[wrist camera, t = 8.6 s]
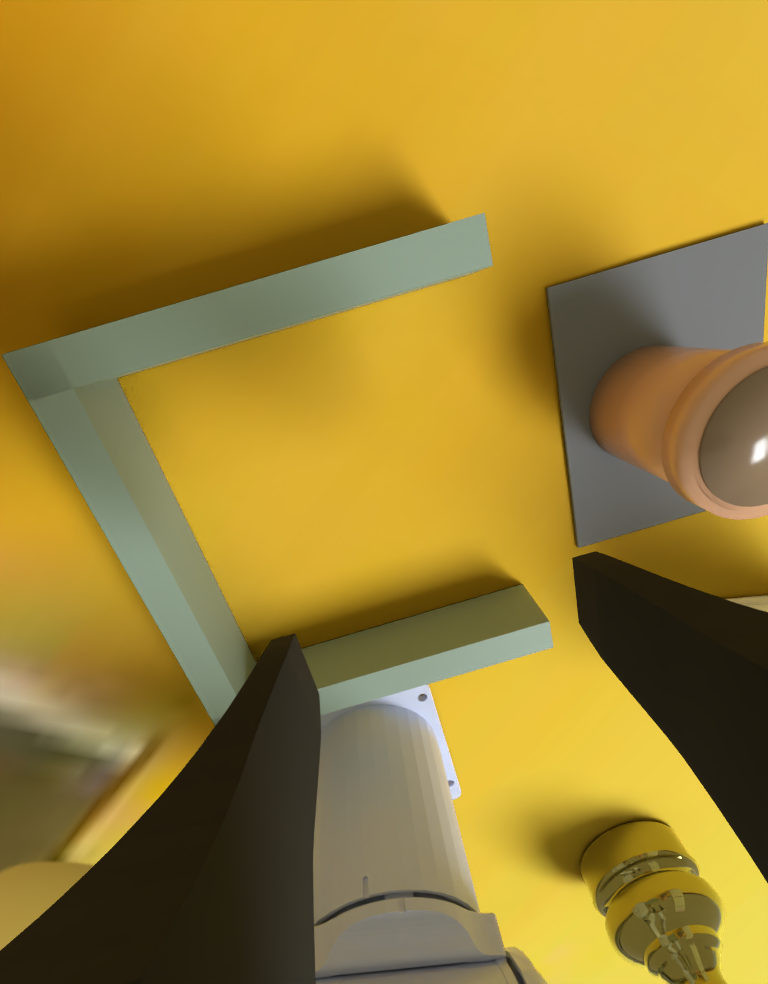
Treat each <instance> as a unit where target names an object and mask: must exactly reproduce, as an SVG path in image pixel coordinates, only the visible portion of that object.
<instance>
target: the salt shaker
mask: <svg viewBox="0 0 768 984" xmlns="http://www.w3.org/2000/svg"><path fill="white" fill-rule="evenodd" d="M580 871H581V875H582V877H583V879H584V882H585V884H586V886H587V888H588V890H589V893H590V895H591V897H592V899H593V904H594V907H595V909H596V910H597V911H598V912H599V913H600V914H601V915H603V916H604V917H606V922H605V924H606V931H607V934H608V937H609V940H610V943H611V945H612V947H613V948H614V950H615V951H616V953H617V954H618V955H619V956H620V957H621V958H622V959H624V960H625V961H627V962H628V963H630V964H632V965H634V966H637V967H640V968H644V969H647V970H648V971H649V973H650V974H651V975H652V976H654V977H656V978H658V979H661V980H663V981H664V982H665V983H667V984H727V983H726V981H725V980H724V978H723V976H722V973H721V957H720V955H721V952H722V947H723V945H722V941H721V939H720V938H721V936H722V934H723V932H724V929H725V925H726V909H725V906H724V903H723V901H722V899H721V897H720V896H719V895H718V893H717V892H716V891H715V890H714V888H713V887H712V886H711V885H710V884H709V883H708V882H707V881H705V880H704V879H702V878H700V877H699V866H698V864H697V862H696V860H695V859H694V858H693V857H692V856H691V855H690V853H689V852H688V850H687V849H686V847H685V846H684V844H683V843H682V841H681V840H680V838H679V837H678V835H677V834H676V833H675V831H674V830H673V829H671V828H670V827H668V826H666V825H664V824H662V823H658V822H653V821H637V822H631V823H626V824H623V825H620V826H617V827H615V828H613V829H611V830H609V831H607V832H605V833H604V834H602V835H601V836H599V837H598V838H597V839H596V840H595V841H594V842H593V843H592V844H591V845H590V846H589V847H588V848H587V850H586V851H585V853H584V855H583V857H582V860H581V865H580Z"/></svg>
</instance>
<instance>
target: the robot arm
mask: <svg viewBox="0 0 768 984" xmlns="http://www.w3.org/2000/svg"><path fill="white" fill-rule="evenodd" d="M572 559H573V569H574V579H575V589H576V599H577V608H578V618H579V624H580V625H581V627H582V628H583V630H584V632H585V633H586V635H587V637H588V638H589V640H590V641H591V643H592V644H593V646H594V647H595V649H596V650H597V652H598V653H599V655H600V656H601V658H602V659H603V660H604V662H605V663H606V664H607V665H608V667H609V668H610V669H611V670H612V671H613V673H614V674H615V675H616V676H617V677H618V679H619V680H620V681H621V682H622V684H623V685H624V686H625V687H626V688H627V690H628V691H629V692H630V693H631V694H632V695H633V697H634V698H635V699H636V700H637V701H638V703H639V704H640V705H641V706H642V707H643V709H644V710H645V711H646V712H647V713H648V715H649V716H650V717H651V718H652V719H653V721H654V722H655V723H656V724H657V725H658V726H659V728H660V729H661V730H662V731H663V732H664V734H665V735H666V736H667V737H668V739H669V740H670V741H671V742H672V744H673V745H674V746H675V748H676V749H677V750H678V751H679V753H680V754H681V755H682V757H683V758H684V759H685V761H686V762H687V764H688V765H689V766H690V768H691V769H692V771H693V772H694V774H695V775H696V776H697V778H698V779H699V781H700V782H701V784H702V785H703V786H704V788H705V789H706V791H707V792H708V794H709V795H710V797H711V798H712V799H713V801H714V802H715V804H716V805H717V807H718V808H719V810H720V811H721V813H722V814H723V816H724V817H725V819H726V820H727V822H728V823H729V825H730V826H731V828H732V829H733V831H734V832H735V834H736V835H737V837H738V838H739V840H740V841H741V843H742V844H743V846H744V847H745V849H746V850H747V852H748V853H749V855H750V856H751V858H752V859H753V861H754V862H755V864H756V865H757V867H758V869H759V870H760V872H761V873H762V875H763V876H764V878H765V880H766V881H767V883H768V612H765V611H762V610H758V609H755V608H751V607H748V606H745V605H741V604H738V603H735V602H732V601H729V600H726V599H723V598H720V597H717V596H714V595H711V594H708V593H705V592H702V591H699V590H696V589H693V588H691V587H688V586H685V585H682V584H680V583H677V582H674V581H672V580H669V579H666V578H664V577H661V576H659V575H656V574H654V573H651V572H648V571H646V570H643V569H641V568H638V567H636V566H633V565H631V564H628V563H626V562H623V561H621V560H618V559H616V558H613V557H610V556H608V555H605V554H602V553H599V552H592V553H588V554H585V555H581V556H577V557H574V558H572ZM421 694H424V695H422V696H419V695H421ZM460 795H461V789H460V785H459V782H458V779H457V775H456V772H455V769H454V766H453V762H452V759H451V756H450V753H449V749H448V746H447V743H446V740H445V736H444V733H443V730H442V727H441V723H440V720H439V717H438V714H437V710H436V707H435V704H434V700H433V697H432V694H431V691H430V687H429V684H426V685H423V686H420V687H416V688H413V689H409V690H406V691H402V692H399V693H396V694H392V695H389V696H385V697H382V698H379V699H375V700H372V701H368V702H365V703H361V704H358V705H355V706H351V707H348V708H344V709H341V710H338V711H334V712H331V713H327V714H324V715H320V697H319V692H318V690H317V687H316V684H315V682H314V679H313V677H312V674H311V672H310V669H309V667H308V664H307V662H306V659H305V657H304V654H303V652H302V649H301V647H300V644H299V642H298V639H297V637H296V634H292V635H288V636H285V637H281V638H277V639H274V640H271V642H270V643H269V645H268V646H267V648H266V650H265V651H264V653H263V654H262V656H261V658H260V659H259V661H258V662H257V664H256V665H255V667H254V669H253V670H252V672H251V673H250V675H249V677H248V678H247V680H246V681H245V683H244V685H243V686H242V688H241V689H240V691H239V692H238V694H237V695H236V697H235V698H234V700H233V701H232V703H231V705H230V706H229V708H228V709H227V710H226V712H225V713H224V715H223V716H222V717H221V719H220V720H219V722H218V723H217V724H216V726H215V727H214V729H213V730H212V731H211V733H210V734H209V736H208V737H207V738H206V740H205V741H204V743H203V744H202V745H201V747H200V748H199V749H198V751H197V752H196V753H195V755H194V756H193V757H192V758H191V760H190V761H189V762H188V763H187V765H186V766H185V767H184V768H183V770H182V771H181V772H180V773H179V774H178V776H177V777H176V778H175V779H174V780H173V782H172V783H171V784H170V785H169V786H168V788H167V789H166V790H165V791H164V792H163V793H162V795H161V796H160V797H159V798H158V799H157V800H156V801H155V802H154V804H153V805H152V806H151V807H150V808H149V809H148V810H147V811H146V812H145V813H144V814H143V815H142V816H141V818H140V819H139V820H138V821H137V822H136V823H135V824H134V825H133V826H132V827H131V828H130V829H129V830H128V832H127V833H126V834H125V835H124V836H123V837H122V838H121V839H120V840H119V841H118V842H117V843H116V844H115V845H114V846H113V847H112V848H111V849H110V850H109V851H108V852H107V853H106V854H105V855H104V856H103V857H102V858H101V859H100V860H99V861H98V862H97V863H96V864H95V865H94V866H93V867H92V868H91V869H90V870H89V871H88V872H87V873H86V874H85V875H84V876H83V877H82V878H81V879H80V880H79V881H78V882H77V883H75V884H74V885H73V886H72V887H71V888H70V889H69V890H68V891H67V892H66V893H65V894H64V895H63V896H62V897H61V898H60V899H59V900H57V901H56V902H55V903H54V904H53V905H52V906H51V907H50V908H49V909H48V910H46V911H45V912H44V913H43V914H42V915H41V916H40V917H39V918H38V919H36V920H35V921H34V922H33V923H32V924H31V925H29V926H28V927H27V928H26V929H25V930H24V931H23V932H21V933H20V935H18V936H17V937H16V938H15V939H13V940H12V941H11V942H10V943H9V944H8V945H6V946H5V947H4V948H3V949H2V950H1V951H0V984H547V982H546V981H545V979H544V978H543V977H542V975H541V974H540V973H539V972H538V971H537V970H536V969H535V967H534V966H533V964H532V962H531V961H530V960H529V959H528V957H527V956H526V955H525V954H524V953H523V952H522V951H521V950H519V949H518V948H515V947H510V948H504V945H503V942H502V938H501V934H500V931H499V927H498V923H497V919H496V916H495V914H494V913H480V911H479V907H478V902H477V898H476V894H475V890H474V886H473V882H472V878H471V874H470V870H469V866H468V862H467V858H466V854H465V850H464V846H463V841H462V837H461V833H460V829H459V825H458V821H457V817H456V813H455V809H454V805H453V801H452V800H454V799H456V798H458V797H459V796H460Z"/></svg>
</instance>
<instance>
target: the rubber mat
mask: <svg viewBox="0 0 768 984" xmlns="http://www.w3.org/2000/svg"><path fill="white" fill-rule="evenodd" d="M767 258H768V223H766V224H763V225H759V226H756V227H753V228H749V229H746V230H742V231H739V232H736V233H732V234H729V235H725V236H722V237H718V238H715V239H712V240H708V241H705V242H701V243H698V244H695V245H691V246H688V247H684V248H681V249H678V250H674V251H671V252H667V253H664V254H661V255H657V256H654V257H650V258H647V259H643V260H640V261H637V262H633V263H630V264H626V265H623V266H620V267H616V268H613V269H609V270H606V271H603V272H599V273H596V274H592V275H589V276H586V277H582V278H579V279H575V280H572V281H568V282H565V283H562V284H558V285H555V286H551V287H548V288H546V291H547V299H548V308H549V316H550V324H551V333H552V341H553V349H554V358H555V366H556V374H557V383H558V391H559V399H560V408H561V416H562V424H563V433H564V441H565V450H566V458H567V466H568V475H569V483H570V491H571V500H572V508H573V516H574V525H575V533H576V541H577V547H578V548H580V547H583V546H587V545H590V544H594V543H597V542H601V541H604V540H607V539H611V538H614V537H618V536H621V535H624V534H628V533H631V532H635V531H638V530H642V529H645V528H648V527H652V526H655V525H659V524H662V523H665V522H669V521H672V520H676V519H679V518H682V517H686V516H689V515H693V514H696V513H700V512H703V511H706V510H705V509H703V508H701V507H699V506H697V505H695V504H693V503H691V502H689V501H687V500H685V499H684V498H683V497H681V496H680V495H679V494H678V493H677V492H676V491H675V490H674V489H673V488H672V486H671V485H670V483H669V482H667V481H665V480H663V479H661V478H658V477H656V476H654V475H652V474H650V473H648V472H646V471H644V470H641V469H639V468H637V467H635V466H633V465H631V464H629V463H627V462H624V461H622V460H620V459H618V458H616V457H614V456H612V455H610V454H608V453H607V452H606V451H604V450H603V449H602V448H601V447H600V446H599V445H598V443H597V442H596V440H595V438H594V436H593V434H592V431H591V427H590V420H589V412H590V404H591V400H592V397H593V394H594V391H595V389H596V387H597V385H598V383H599V381H600V380H601V378H602V376H603V375H604V374H605V373H606V371H607V370H608V369H609V368H610V367H611V366H612V365H613V364H614V363H615V362H616V361H617V360H619V359H620V358H621V357H623V356H624V355H626V354H627V353H629V352H631V351H633V350H636V349H639V348H641V347H646V346H652V345H663V346H679V347H696V348H712V349H728V350H733V349H736V348H739V347H741V346H744V345H748V344H752V343H757V342H763V335H764V316H765V297H766V278H767Z"/></svg>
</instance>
